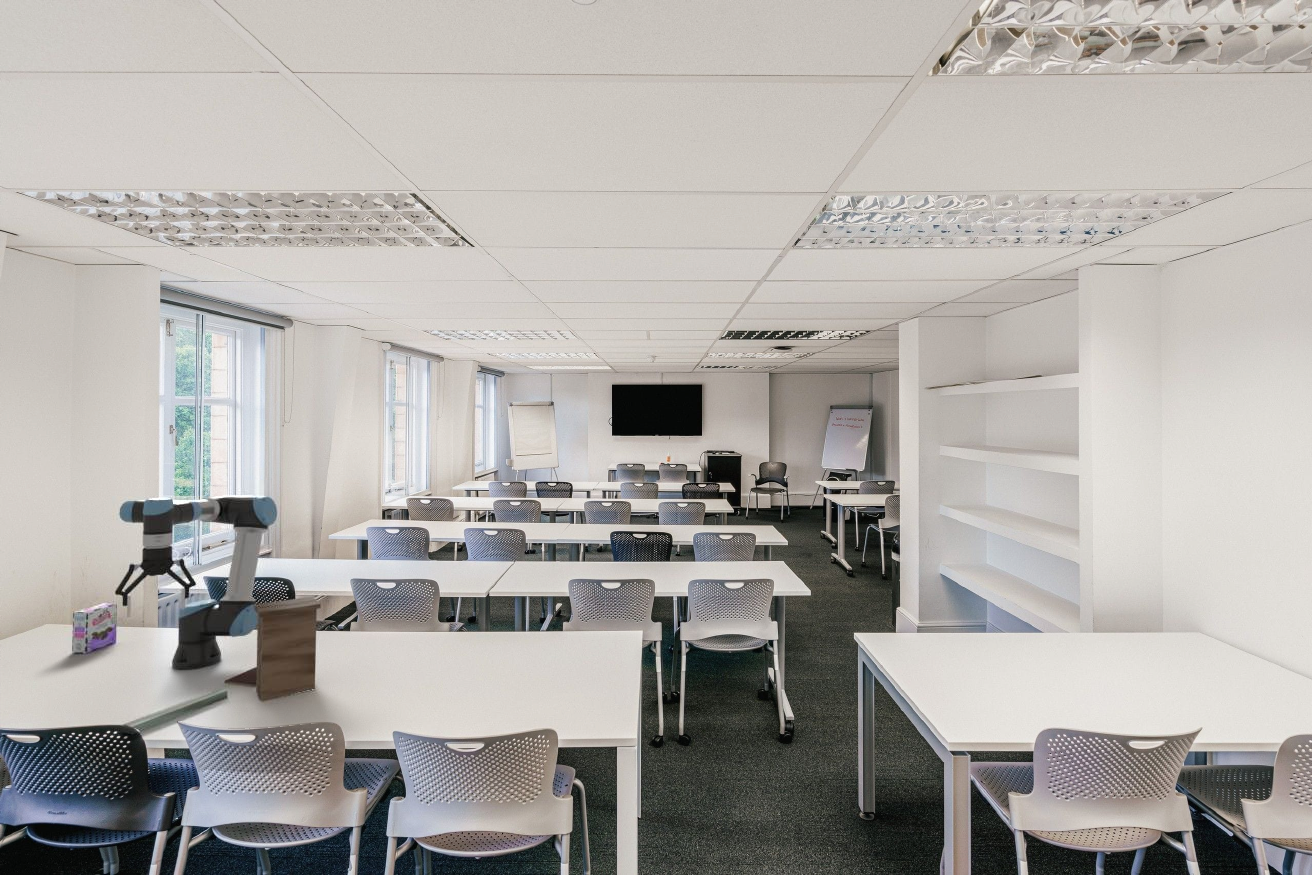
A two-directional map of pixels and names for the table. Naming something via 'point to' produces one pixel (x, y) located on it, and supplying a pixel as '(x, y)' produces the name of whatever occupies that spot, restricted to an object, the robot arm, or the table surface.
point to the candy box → (94, 628)
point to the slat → (178, 710)
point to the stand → (286, 647)
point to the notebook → (244, 678)
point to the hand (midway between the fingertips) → (156, 612)
